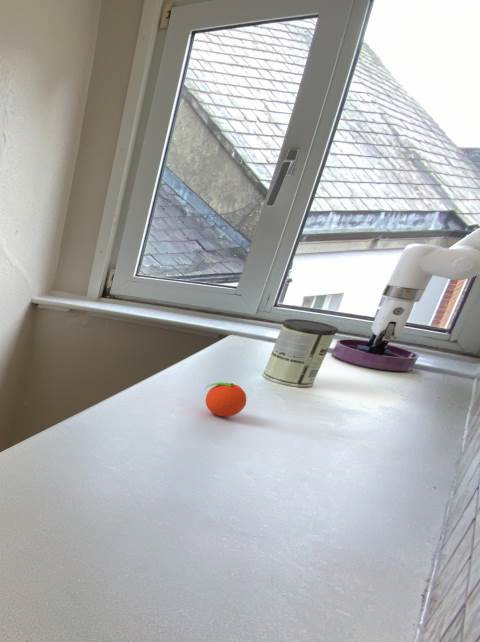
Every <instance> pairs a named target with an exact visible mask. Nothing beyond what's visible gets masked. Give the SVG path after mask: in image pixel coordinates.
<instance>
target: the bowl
mask: <svg viewBox="0 0 480 642" xmlns="http://www.w3.org/2000/svg"><path fill="white" fill-rule="evenodd" d="M368 341H369V340H365V339H355V338H342V339H341V338H340V339H337V340H336V341H335V343H334V345H333V347H332V350H331V351H330V352H331V355H333V356H334V357H336V358H337V359H339V360H340V361H342V362H345V363H349V364H351V365H355V366H358V367H362V368H363V367H364V368H369V369H372V370H377V371H378V370H379V371H387V372H403V371H404V372H405V371H406V372H407V371H412V370H413V368H414V367H415V365H416V363H417V361H418V359H419V358H420V355H419V354H418V353H416V352H414V351H412V350H409V349H406V348H403V347H400V346H396V345H392V344H388V345H387V348H386V350H390V351H391V352H392V354H393V355H392V357H390V356H383V355H377V354H372V353H367V352H363V351H359V350H355V349H356V347H357V345H362V346H366V344H367V342H368Z"/></svg>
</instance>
